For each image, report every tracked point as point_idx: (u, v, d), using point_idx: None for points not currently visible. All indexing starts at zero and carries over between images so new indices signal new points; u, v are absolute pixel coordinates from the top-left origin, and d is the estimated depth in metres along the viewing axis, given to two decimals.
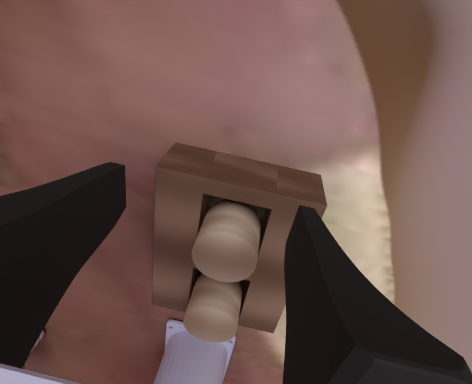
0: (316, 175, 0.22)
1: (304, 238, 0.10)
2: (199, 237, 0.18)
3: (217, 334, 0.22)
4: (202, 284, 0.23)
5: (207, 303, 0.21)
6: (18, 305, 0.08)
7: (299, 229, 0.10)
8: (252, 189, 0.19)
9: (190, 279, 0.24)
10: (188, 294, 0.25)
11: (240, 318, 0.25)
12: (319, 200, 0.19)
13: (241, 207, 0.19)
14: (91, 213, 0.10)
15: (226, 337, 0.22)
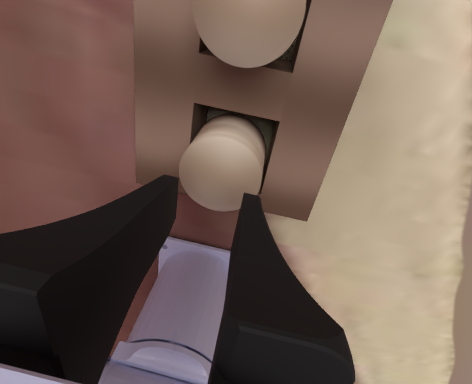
0: None
1: (239, 223, 0.10)
2: None
3: (231, 193, 0.14)
4: (208, 125, 0.15)
5: (217, 133, 0.13)
6: (100, 325, 0.08)
7: (239, 215, 0.11)
8: None
9: (190, 128, 0.16)
10: None
11: (261, 197, 0.18)
12: None
13: None
14: (153, 227, 0.10)
15: None
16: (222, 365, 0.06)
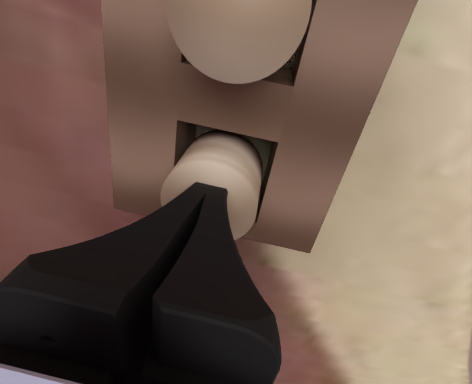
0: None
1: None
2: None
3: None
4: (195, 144, 0.13)
5: (204, 157, 0.11)
6: (149, 337, 0.08)
7: None
8: None
9: (173, 149, 0.14)
10: None
11: (257, 226, 0.16)
12: None
13: None
14: (190, 236, 0.10)
15: (237, 230, 0.12)
16: (155, 349, 0.06)
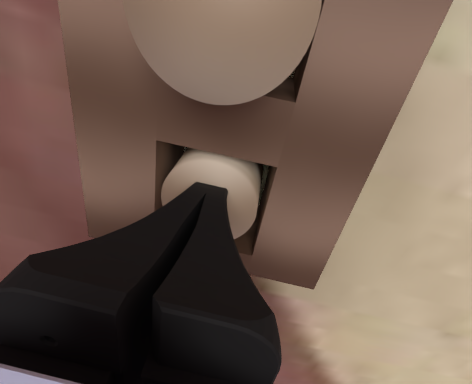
0: None
1: None
2: None
3: None
4: None
5: (205, 155, 0.11)
6: (149, 337, 0.08)
7: None
8: None
9: (153, 173, 0.12)
10: (152, 210, 0.13)
11: (252, 260, 0.13)
12: None
13: None
14: (190, 236, 0.10)
15: (238, 228, 0.12)
16: (155, 349, 0.06)
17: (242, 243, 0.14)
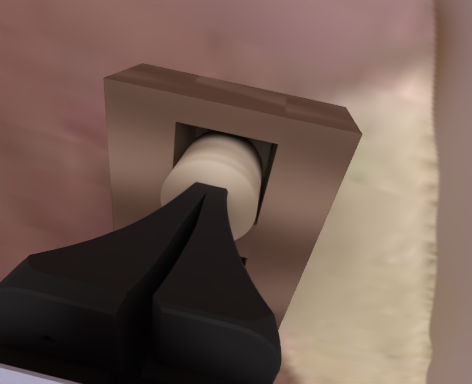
0: (340, 107, 0.15)
1: None
2: (171, 172, 0.12)
3: None
4: None
5: None
6: (149, 337, 0.08)
7: None
8: (249, 111, 0.12)
9: None
10: None
11: None
12: (350, 128, 0.12)
13: (235, 137, 0.13)
14: (190, 236, 0.10)
15: None
16: (155, 349, 0.06)
17: None
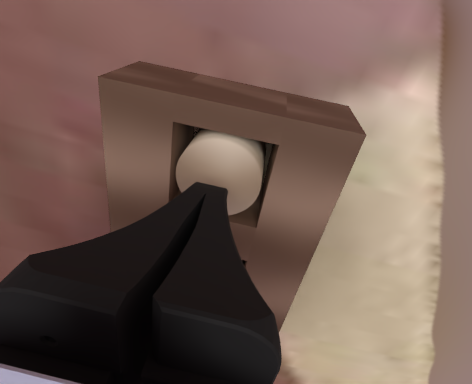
0: (342, 106, 0.15)
1: None
2: (185, 149, 0.13)
3: None
4: None
5: None
6: (149, 337, 0.08)
7: None
8: (249, 111, 0.12)
9: None
10: None
11: None
12: (353, 129, 0.12)
13: None
14: (190, 236, 0.10)
15: None
16: (155, 349, 0.06)
17: None
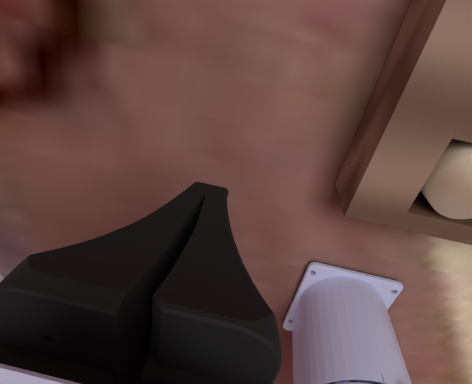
0: None
1: None
2: None
3: None
4: None
5: None
6: (149, 337, 0.08)
7: None
8: None
9: (434, 164, 0.15)
10: (416, 193, 0.16)
11: None
12: None
13: None
14: (190, 236, 0.10)
15: None
16: (155, 349, 0.06)
17: (471, 221, 0.17)
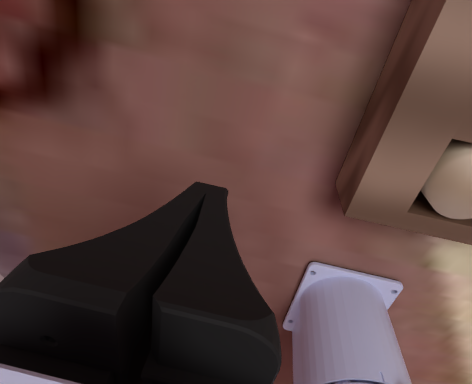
0: None
1: None
2: None
3: None
4: None
5: None
6: (149, 337, 0.08)
7: None
8: None
9: (434, 164, 0.15)
10: (416, 193, 0.16)
11: None
12: None
13: None
14: (190, 236, 0.10)
15: None
16: (155, 349, 0.06)
17: (471, 221, 0.17)
